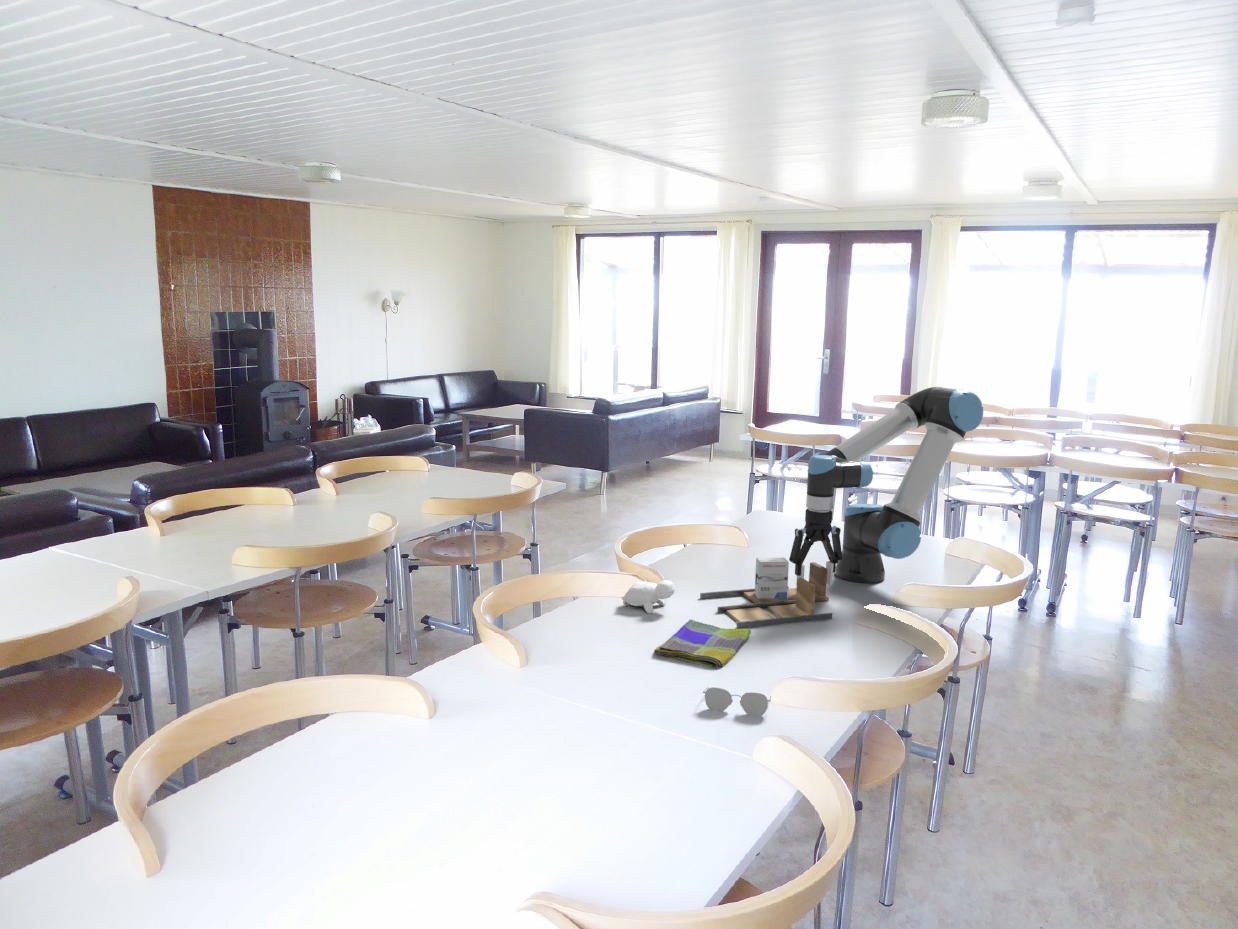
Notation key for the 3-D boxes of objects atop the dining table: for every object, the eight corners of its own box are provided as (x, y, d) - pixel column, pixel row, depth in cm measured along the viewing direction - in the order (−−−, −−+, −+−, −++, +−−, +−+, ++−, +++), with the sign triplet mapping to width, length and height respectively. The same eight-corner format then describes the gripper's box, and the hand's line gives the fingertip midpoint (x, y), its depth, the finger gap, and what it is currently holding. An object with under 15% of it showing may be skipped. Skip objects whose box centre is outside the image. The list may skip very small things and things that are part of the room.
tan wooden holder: (810, 589, 252) (812, 560, 251) (828, 600, 243) (830, 570, 241) (743, 595, 245) (744, 565, 244) (759, 606, 236) (761, 576, 235)
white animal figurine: (625, 619, 234) (670, 609, 225) (616, 589, 234) (661, 579, 226) (640, 610, 241) (685, 601, 233) (631, 581, 241) (675, 571, 233)
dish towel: (754, 638, 214) (754, 628, 214) (719, 672, 193) (720, 661, 193) (690, 625, 222) (691, 615, 222) (650, 657, 201) (651, 646, 201)
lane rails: (786, 590, 251) (787, 585, 251) (832, 619, 228) (832, 613, 228) (700, 598, 243) (700, 593, 243) (737, 628, 220) (738, 623, 219)
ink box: (782, 595, 246) (784, 556, 244) (787, 601, 241) (789, 561, 239) (753, 596, 245) (755, 556, 243) (757, 601, 240) (759, 561, 238)
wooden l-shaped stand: (797, 606, 238) (799, 576, 236) (816, 618, 228) (818, 587, 227) (726, 613, 231) (727, 582, 229) (742, 625, 222) (744, 593, 220)
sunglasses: (701, 710, 174) (702, 686, 174) (706, 699, 182) (708, 676, 182) (769, 719, 171) (771, 694, 171) (772, 708, 179) (773, 684, 179)
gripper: (844, 504, 249) (839, 578, 253) (779, 508, 243) (775, 583, 247) (859, 510, 242) (853, 586, 246) (792, 514, 236) (787, 591, 240)
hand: (814, 584), depth 246 cm, fingers open, 9 cm apart
